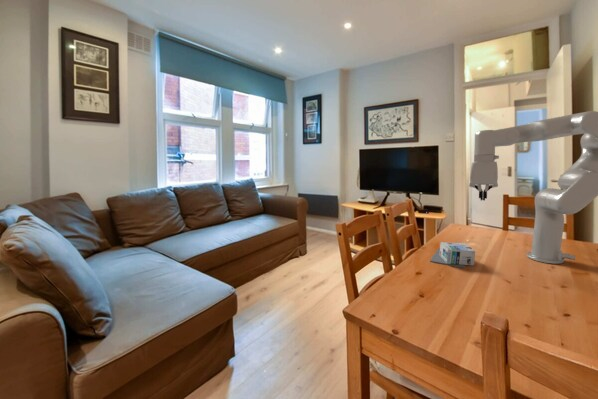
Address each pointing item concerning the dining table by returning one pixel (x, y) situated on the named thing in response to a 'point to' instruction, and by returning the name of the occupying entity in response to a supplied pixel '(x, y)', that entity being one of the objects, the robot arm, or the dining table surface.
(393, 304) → the dining table surface
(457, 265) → the mat
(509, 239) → the dining table surface
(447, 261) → the light bulb box
